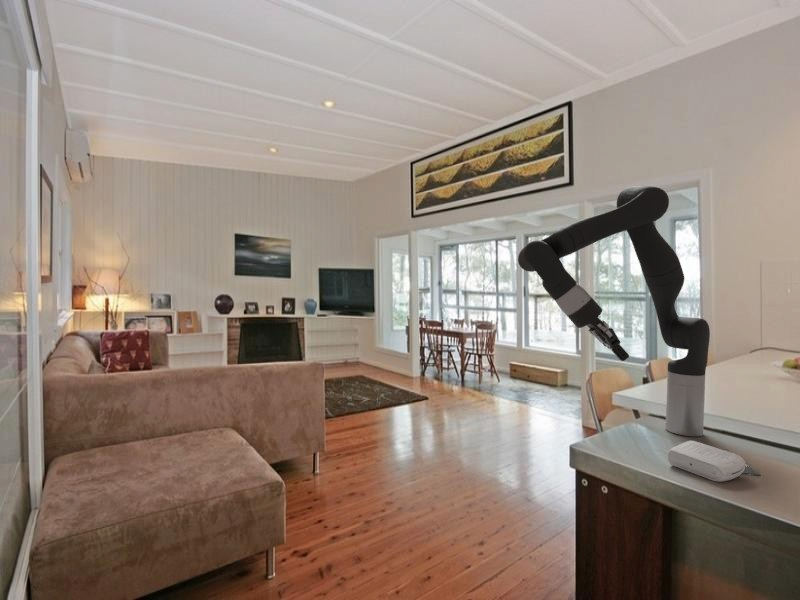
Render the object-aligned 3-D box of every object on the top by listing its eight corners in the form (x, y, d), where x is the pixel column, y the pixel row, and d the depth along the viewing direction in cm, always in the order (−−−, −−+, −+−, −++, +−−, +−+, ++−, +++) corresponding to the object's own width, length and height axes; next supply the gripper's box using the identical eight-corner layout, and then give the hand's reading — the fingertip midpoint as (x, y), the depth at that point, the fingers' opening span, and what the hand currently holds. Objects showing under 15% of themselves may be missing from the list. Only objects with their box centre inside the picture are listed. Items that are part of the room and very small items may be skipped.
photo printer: (666, 466, 102) (727, 488, 91) (666, 448, 102) (727, 468, 91) (691, 454, 107) (751, 474, 96) (691, 437, 107) (751, 455, 96)
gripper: (597, 295, 104) (648, 351, 102) (583, 296, 117) (628, 346, 115) (572, 315, 105) (622, 372, 103) (560, 314, 118) (605, 364, 116)
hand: (625, 358), depth 109 cm, fingers closed
